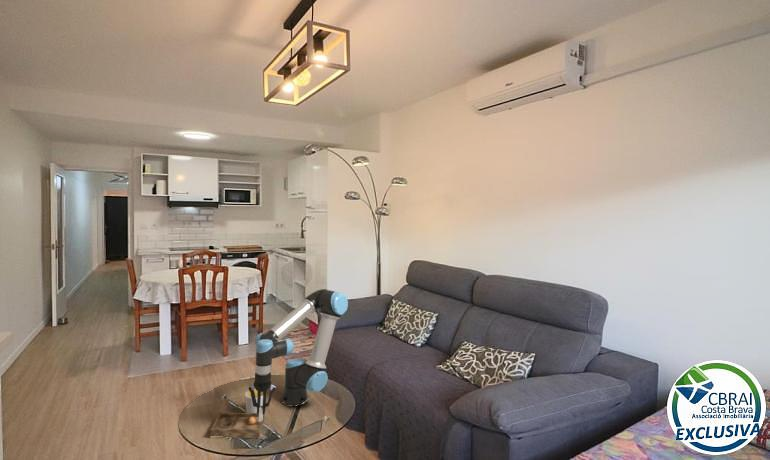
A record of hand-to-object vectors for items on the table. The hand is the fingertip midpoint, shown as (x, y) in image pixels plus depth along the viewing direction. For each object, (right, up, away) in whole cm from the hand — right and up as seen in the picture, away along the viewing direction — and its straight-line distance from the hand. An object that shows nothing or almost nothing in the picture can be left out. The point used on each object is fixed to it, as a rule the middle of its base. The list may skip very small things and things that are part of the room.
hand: (260, 420), depth 204 cm
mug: (-8, -4, +17) cm, 19 cm away
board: (-10, -4, -1) cm, 11 cm away
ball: (-4, 0, 0) cm, 4 cm away
